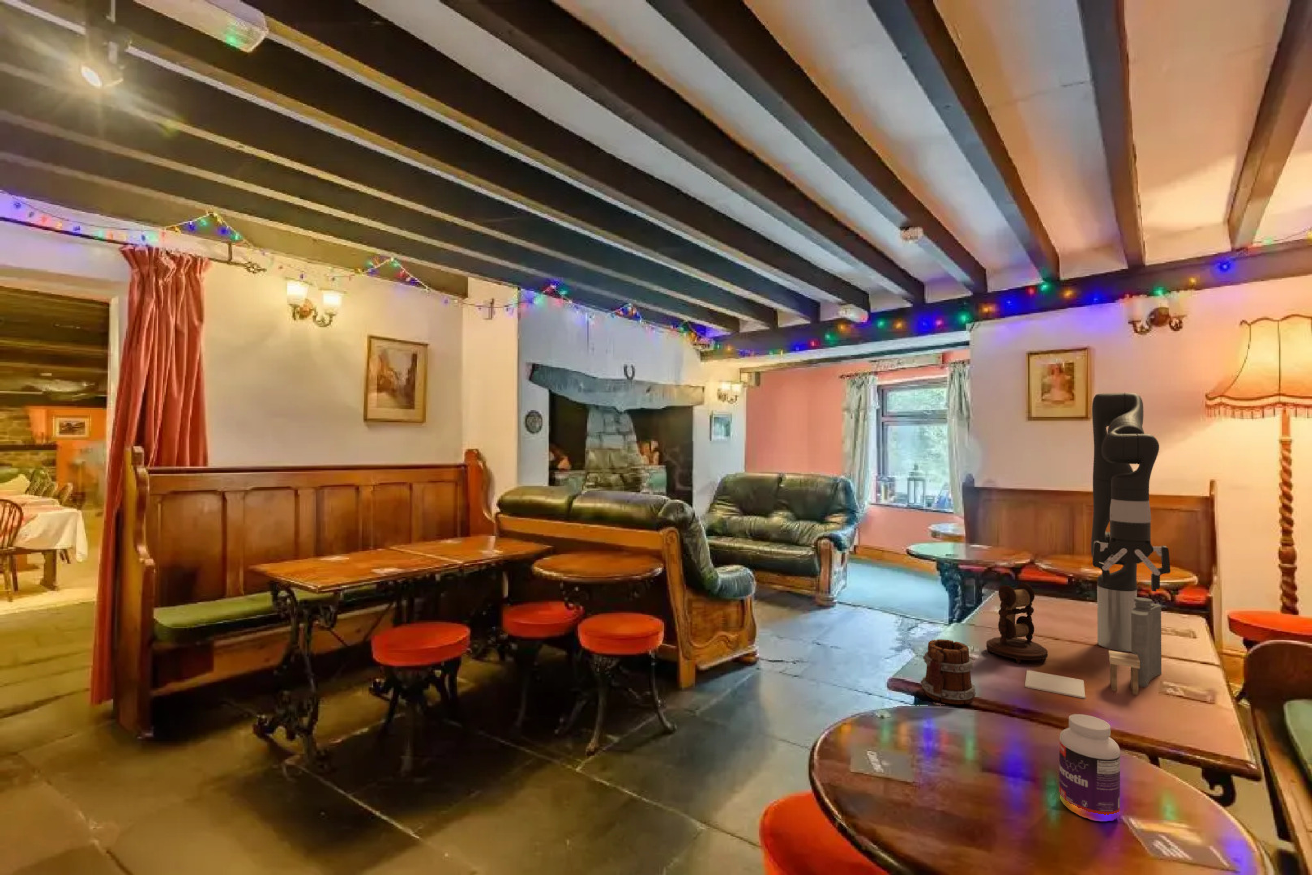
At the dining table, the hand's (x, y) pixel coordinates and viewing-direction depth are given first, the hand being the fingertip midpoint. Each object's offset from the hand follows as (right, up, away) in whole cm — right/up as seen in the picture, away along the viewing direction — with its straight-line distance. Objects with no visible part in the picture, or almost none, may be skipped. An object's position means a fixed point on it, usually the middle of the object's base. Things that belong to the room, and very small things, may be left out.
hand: (1130, 588), depth 142 cm
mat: (-13, -26, +7) cm, 30 cm away
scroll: (-10, -26, +27) cm, 39 cm away
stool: (+2, -26, +5) cm, 26 cm away
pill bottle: (-41, -25, -44) cm, 65 cm away
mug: (-43, -26, 0) cm, 50 cm away
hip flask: (+13, -26, +12) cm, 31 cm away
